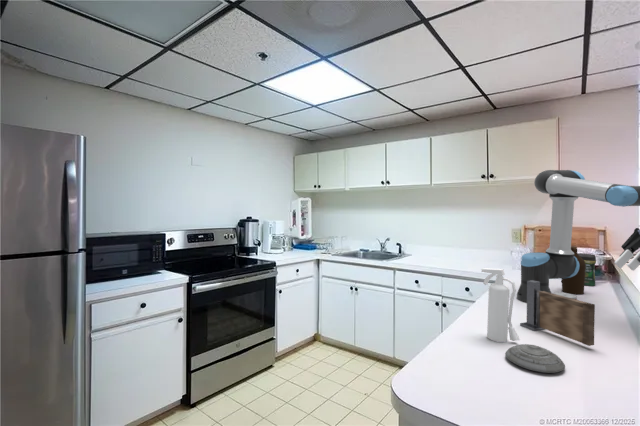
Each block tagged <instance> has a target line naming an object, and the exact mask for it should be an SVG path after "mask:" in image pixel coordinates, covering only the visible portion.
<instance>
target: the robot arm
mask: <svg viewBox="0 0 640 426" xmlns="http://www.w3.org/2000/svg"><path fill="white" fill-rule="evenodd" d="M534 186H535V188H536V190H537V191H538V192H540V193H543V194H547V195H549V196H548V197H549V199H550V200H551V201H552V206H551V219H550V221H551V222H550V235H549V236H550V237H549V247H548V248H547V249H546V250H545V252H539V251H538V252H528V253H524V254H523V255H522V256H521V258H520V259H521V260H520V285H519V288H518V291H516V292H517V293H516V299H517V300H518V301H521V302H523V303H527V281H530V280H534V281H538V282H540V291H545V292H549V293H552V291H551V289H550V280H554V279H556V280H557V279H561V280H562V279H565V278H570V277H573V276H575V275H576V274H577V273H578V271H579V267H580V265H579V261H577V258H576V257H574V252H573V251H572V250H571V246H572V235H573V225H574V223H573V222H574V221H573V220H574V208H575V206H574V205H575V201H576V200H578V199H579V198H583V199H588V200H594V201H599V202H604V203H609V204H610V205H612V206H615V207H622V208H623V207H640V185H626V184H618V183H611V182H604V181H596V180H589V179H586V178H585V176H584V175H583V174H582V173H581V172H579V171H577V170H571V169H561V170H560V169H547V170H544V171H543V170H542V171H541V172H540V173H538V174H537V175H536V176H535V179H534ZM621 248H622V249H623V251H622V253H620V255H619V256H618V257H617V259H616V260H615V261H614V262H613V263H614V264H615V265H616V266H617V267H618V268H619V269H622V268H623V267H624V266H625V265H626V266H627V267H628V268H629V269H630V270H631V271H633V272H634V271H636V269H637V268H639V266H640V251H638V250H639V249H640V228H639V227H635V229H634V230H633V233H632V234H631V235H630V236H629V237H628V238H627V239H626V241H624V243H623V244H622V245H621ZM636 251H638V252H637V253H636V254H634V253H635V252H636Z"/></svg>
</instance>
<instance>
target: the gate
mask: <svg viewBox="0 0 640 426" xmlns="http://www.w3.org/2000/svg"><path fill="white" fill-rule="evenodd" d="M553 293H554V292H553ZM553 293H552V292H551V293H549V292H545V291H539V290H538V291H537V326H539V327H541V328H543V329H545V330H546V331H549V332H551V333H554V334H557V335H560V336H563V337H566V338H568V339H570V340H573V341H576V342H578V343H582V344H583V345H585V346H588V347H589V346H590V347H592V346H594V345H595V323H596V322H595V319H596V318H595V314H596V313H595V312H596V311H595V310H596V309H595V308H596V304H594V303H591V302H586V301H583V300H578V299H577V300H576V299H572V298H568V297H564V296H560V295H556V294H553Z"/></svg>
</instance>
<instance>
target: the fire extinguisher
mask: <svg viewBox="0 0 640 426" xmlns="http://www.w3.org/2000/svg"><path fill="white" fill-rule="evenodd" d="M504 270H505V269H503V268H489V267H488V268H487V267H483V268H481V273H486V274H487V273H488V274H489V275H487V276H486V277H485V278H484V280H483V282H482V283H483V284H484V286H487V285H488V283H489V281H490V280H491V279H493V277H495V276H496V278H495V282H494V283H491V284H490V285H489V286H488V287H489V288H488V303H487V304H488V305H487V327H486V328H487V329H486V330H487V332H486V337H487V338H488V339H489V340H491V341H493V342H496V343H497V342H498V343H507V342H508V334H509V340H510V341H512V342H516V341H520V340H521V339H520V337H519V335H518V332H517V330H516V328H515V327H513V323H512V317H513V316H512V315H513V308H514V307H513V306H514V300H515V299H514V298H515V296H516V292H517V289H516V284H515V282H514V281H512V280H511V279H510V278H508V277H503V276H505V275H506V273H505V271H504ZM504 281H505V282H508V283H509V284H511V288H512V289H511V290H512V291H511V294H510V288H509V286H508V285H506V284H504Z"/></svg>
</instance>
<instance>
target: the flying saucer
mask: <svg viewBox="0 0 640 426" xmlns="http://www.w3.org/2000/svg"><path fill="white" fill-rule="evenodd" d="M504 354H505V357H506V358H507V359H508V360H509V362H512V363H513V364H515V365H517V366H519V367H521V368H524V369H527V370H530V371H534V372H539V373H545V374H546V373H549V374H550V373H553V374H554V373H559V372H562V371H564V370H565V368H566V364H565V363H564V361H563V360H562V359H561V357H559V355H557V354H556V353H554V352H553V351H550V350H549V349H548V348H545V347H541V346H539V345H535V344H527V343H523V344H521V343H520V344H516V345H513V346H511V347H509V348H508V349H507V350H506V351H505V353H504Z"/></svg>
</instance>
